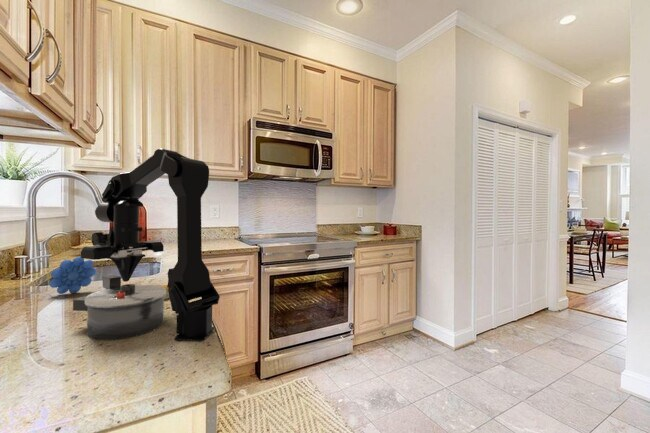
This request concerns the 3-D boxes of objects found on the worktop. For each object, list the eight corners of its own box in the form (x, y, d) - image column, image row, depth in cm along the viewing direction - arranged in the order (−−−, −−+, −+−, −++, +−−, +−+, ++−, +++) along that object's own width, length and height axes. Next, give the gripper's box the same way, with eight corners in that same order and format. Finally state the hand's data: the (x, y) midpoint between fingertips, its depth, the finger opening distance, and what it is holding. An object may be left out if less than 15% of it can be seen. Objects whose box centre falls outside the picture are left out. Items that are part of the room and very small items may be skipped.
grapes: (95, 287, 104) (96, 254, 103) (96, 292, 98) (96, 256, 98) (50, 293, 96) (51, 256, 96) (48, 298, 91) (49, 259, 91)
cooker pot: (175, 316, 77) (175, 291, 77) (137, 341, 62) (138, 309, 62) (102, 314, 78) (103, 289, 78) (48, 338, 63) (48, 307, 63)
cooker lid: (178, 296, 71) (178, 281, 71) (98, 313, 59) (99, 296, 59) (141, 282, 84) (141, 270, 84) (68, 294, 71) (68, 280, 71)
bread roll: (157, 293, 100) (158, 281, 100) (179, 295, 97) (179, 283, 97) (135, 299, 92) (136, 286, 92) (158, 302, 89) (158, 289, 89)
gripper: (139, 221, 91) (138, 272, 91) (67, 223, 73) (66, 285, 73) (165, 223, 86) (164, 275, 87) (95, 224, 69) (95, 290, 69)
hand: (125, 281), depth 79 cm, fingers closed
